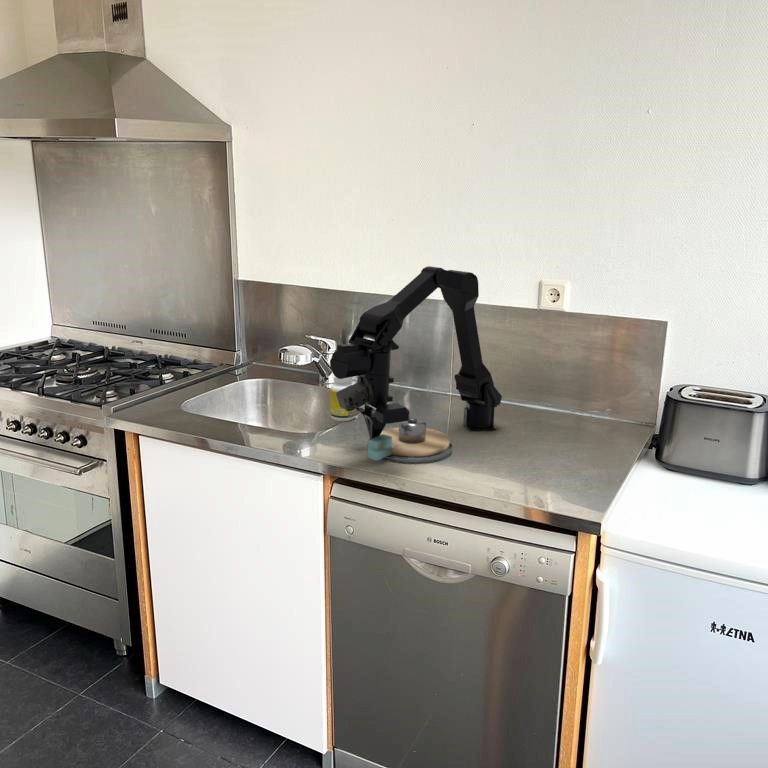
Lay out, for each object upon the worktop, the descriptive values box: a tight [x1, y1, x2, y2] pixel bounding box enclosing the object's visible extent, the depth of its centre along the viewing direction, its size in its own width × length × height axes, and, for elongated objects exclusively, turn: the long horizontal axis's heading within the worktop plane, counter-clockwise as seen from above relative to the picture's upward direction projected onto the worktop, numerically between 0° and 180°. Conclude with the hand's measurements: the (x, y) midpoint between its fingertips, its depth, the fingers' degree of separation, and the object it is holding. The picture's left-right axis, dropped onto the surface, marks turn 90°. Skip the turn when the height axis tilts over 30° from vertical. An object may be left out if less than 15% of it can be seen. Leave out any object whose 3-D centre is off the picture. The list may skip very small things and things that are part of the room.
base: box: [381, 442, 453, 465], centre depth 171 cm, size 18×18×1 cm
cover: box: [398, 416, 427, 444], centre depth 169 cm, size 6×6×5 cm
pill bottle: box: [330, 375, 356, 422], centre depth 191 cm, size 6×6×11 cm
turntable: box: [367, 426, 451, 461], centre depth 168 cm, size 22×17×4 cm
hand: (373, 442), depth 164 cm, fingers closed
